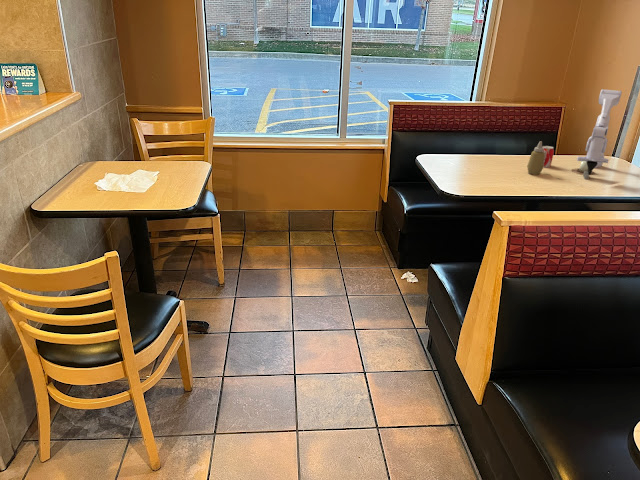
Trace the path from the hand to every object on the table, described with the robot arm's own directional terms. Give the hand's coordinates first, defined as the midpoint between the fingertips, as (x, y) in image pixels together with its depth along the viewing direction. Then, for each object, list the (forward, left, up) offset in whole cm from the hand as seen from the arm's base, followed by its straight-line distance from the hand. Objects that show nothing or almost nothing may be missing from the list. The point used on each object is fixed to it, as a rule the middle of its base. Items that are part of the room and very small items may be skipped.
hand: (588, 174), depth 250 cm
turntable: (-3, -5, -2) cm, 6 cm away
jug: (-6, -8, -1) cm, 10 cm away
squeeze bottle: (+19, -19, -3) cm, 27 cm away
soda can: (+5, -25, -3) cm, 25 cm away
